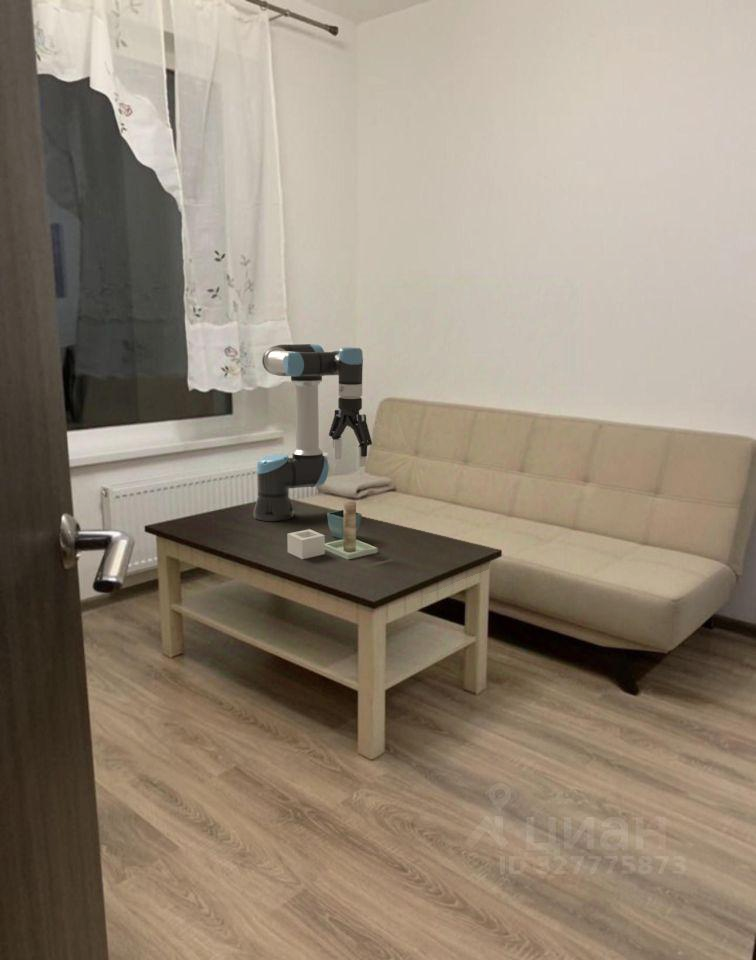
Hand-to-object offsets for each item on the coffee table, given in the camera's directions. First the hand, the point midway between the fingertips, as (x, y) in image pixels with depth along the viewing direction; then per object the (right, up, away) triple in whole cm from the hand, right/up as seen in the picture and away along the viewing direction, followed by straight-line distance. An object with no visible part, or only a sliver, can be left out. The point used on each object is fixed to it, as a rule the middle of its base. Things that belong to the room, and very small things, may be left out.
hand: (349, 462), depth 244 cm
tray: (0, -29, +2) cm, 29 cm away
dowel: (0, -29, +2) cm, 29 cm away
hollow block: (-14, -30, -1) cm, 33 cm away
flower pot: (-2, -26, +18) cm, 32 cm away
